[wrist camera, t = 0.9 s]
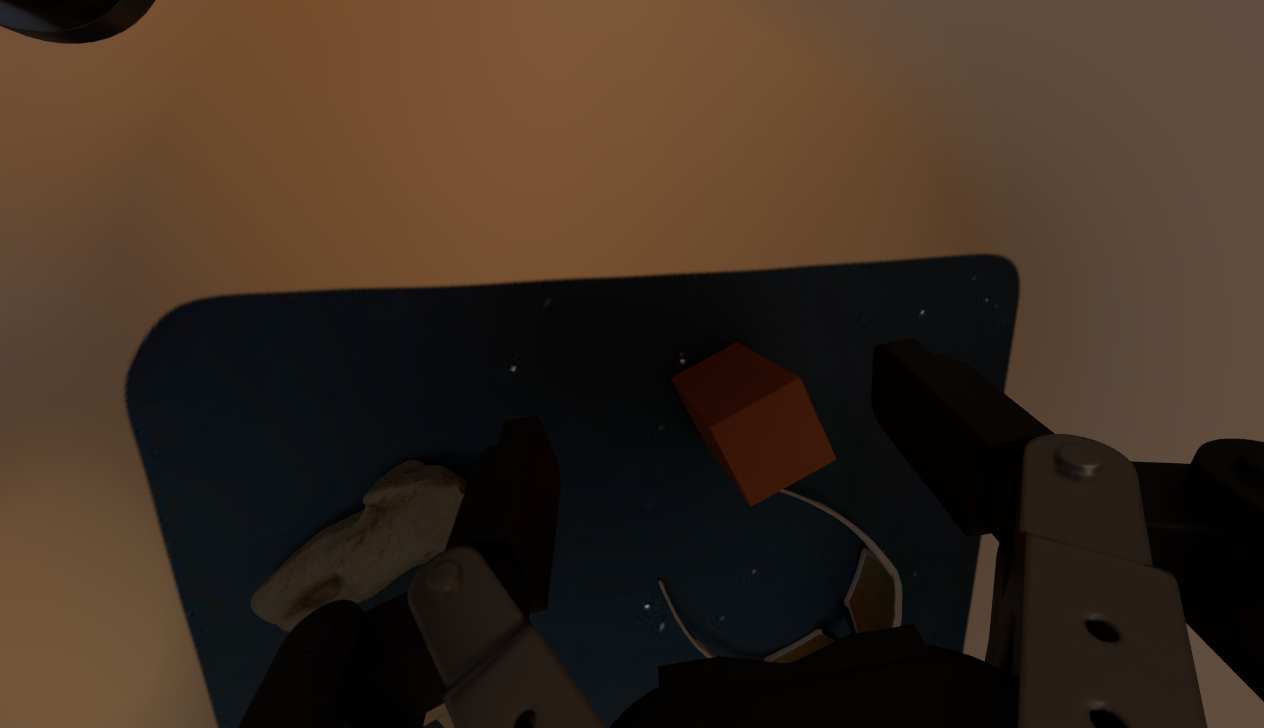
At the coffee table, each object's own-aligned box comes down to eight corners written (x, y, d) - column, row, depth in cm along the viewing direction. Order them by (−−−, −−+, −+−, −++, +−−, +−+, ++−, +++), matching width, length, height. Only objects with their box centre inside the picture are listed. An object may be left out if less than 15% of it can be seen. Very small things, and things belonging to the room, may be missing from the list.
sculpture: (345, 618, 34) (521, 509, 32) (301, 678, 29) (505, 554, 27) (272, 543, 32) (454, 425, 31) (214, 593, 27) (425, 457, 26)
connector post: (670, 377, 32) (708, 427, 23) (736, 341, 32) (800, 377, 23) (702, 438, 33) (750, 507, 24) (766, 403, 33) (837, 459, 24)
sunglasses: (785, 686, 39) (809, 744, 34) (639, 583, 37) (641, 628, 33) (903, 557, 38) (945, 597, 33) (756, 444, 36) (777, 468, 31)
